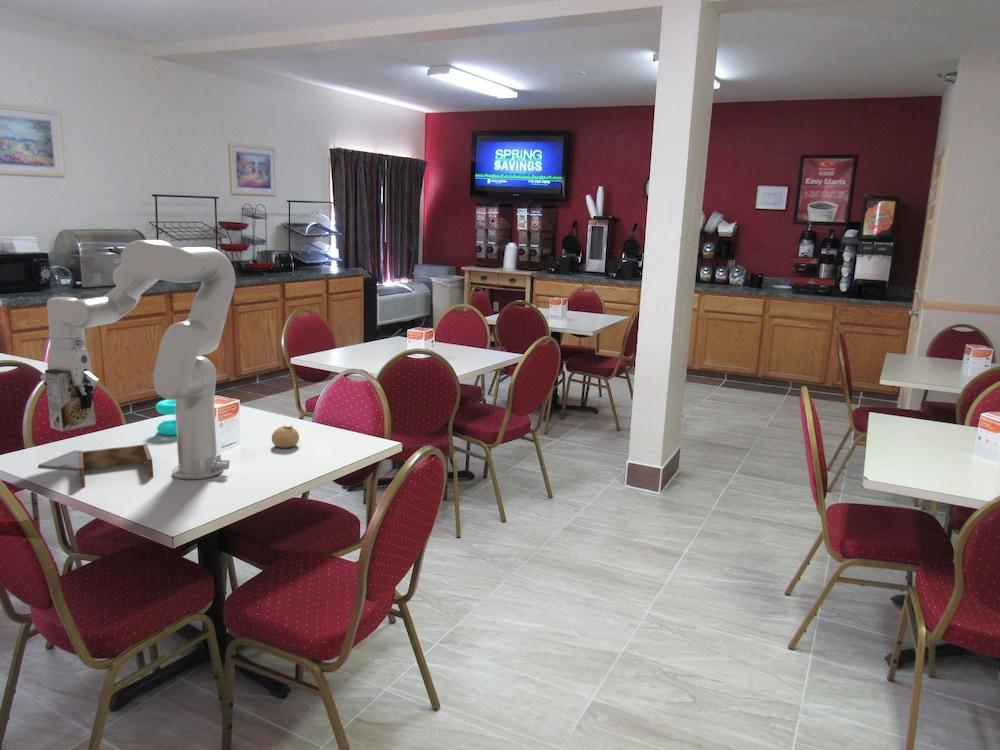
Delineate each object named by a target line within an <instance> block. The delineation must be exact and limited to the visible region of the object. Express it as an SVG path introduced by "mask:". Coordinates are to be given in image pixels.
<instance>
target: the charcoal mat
mask: <svg viewBox="0 0 1000 750" xmlns="http://www.w3.org/2000/svg"><path fill="white" fill-rule="evenodd" d="M82 451H83V450H76V449H75V450H72V451H69V452H67V453H65V454H62V455H59V456H57V457H54V458H52V459H49V460H47V461H44V462H42V463H39V464H38V467H39V468H44V467H49V468H48V469H55V468H59V469H58V470H66V469H69V471H77V470H79V460H78V452H82Z"/></svg>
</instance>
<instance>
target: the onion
mask: <svg viewBox="0 0 1000 750" xmlns="http://www.w3.org/2000/svg"><path fill="white" fill-rule="evenodd" d="M293 425H294V424H291V425H286V424H285V425H281V426H279V427H278V428H276V429H275V430H274V431H273V432H272V435H271V442H272V443H273V445H274V446H275V445H276V446H275V447H277V446H278V447H277V448H279V447H290V448H292V447H291V446H293V447H294V445H295V446H296V445H297V444H299V440H300V434H299V432H298V431H297V429H295V428H294V427H293Z"/></svg>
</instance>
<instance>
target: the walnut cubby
mask: <svg viewBox="0 0 1000 750" xmlns="http://www.w3.org/2000/svg"><path fill="white" fill-rule="evenodd" d="M81 451H82V452H78V460H79V471H78V473H79V474H78V475H79V486H80V488H83V487H82V486H85V487H86V480H85V479H86V477H85V476H86V475H85V471H90V470H89V469H91V470H98V469H97V468H99V469H104V468H103V467H107V468H112V466H115V467H122V466H121V465H123V466H129V465H128V464H131V465H137V463H139V464H144V466H145V469H146V472H147V476H148V478H149V479H151V478H154V468H153V467H154V466H153V457H152V455H151V452H150V448H149V446H148V444H147V443H146V444H145V443H144V444H136V445H134V444H133V445H128V446H119V447H118V446H117V447H110V448H109V447H108V448H101V449H100V448H99V449H93V450H81ZM144 462H145V463H144Z"/></svg>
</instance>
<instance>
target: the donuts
mask: <svg viewBox="0 0 1000 750" xmlns="http://www.w3.org/2000/svg"><path fill="white" fill-rule="evenodd" d="M175 406H176V400H167V399H163V400H160V401H158V402H157V403H156V405H155V410H156V411H157V412H158V413H159V414H162V415H165V416H166V415H169V416H173V415H174V416H176V414H175ZM156 429H157V430H156V431H157V432H158V433H159V434H160V435H164V436H177V432H176V418H173V419H167V420H164V421H162V422H160V423H159V424H157V427H156Z"/></svg>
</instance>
